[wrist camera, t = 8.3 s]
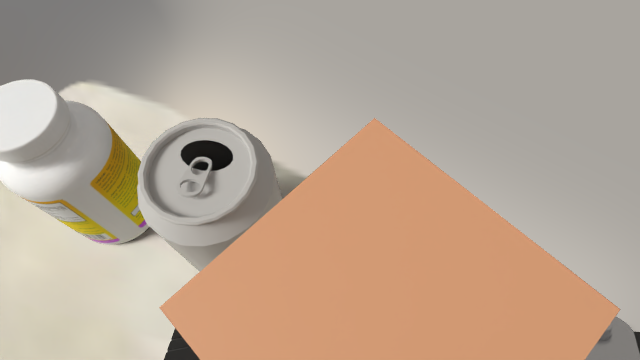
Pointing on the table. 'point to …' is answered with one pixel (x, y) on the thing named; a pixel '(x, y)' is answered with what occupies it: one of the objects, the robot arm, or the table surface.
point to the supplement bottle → (68, 163)
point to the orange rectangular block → (386, 274)
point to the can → (205, 187)
